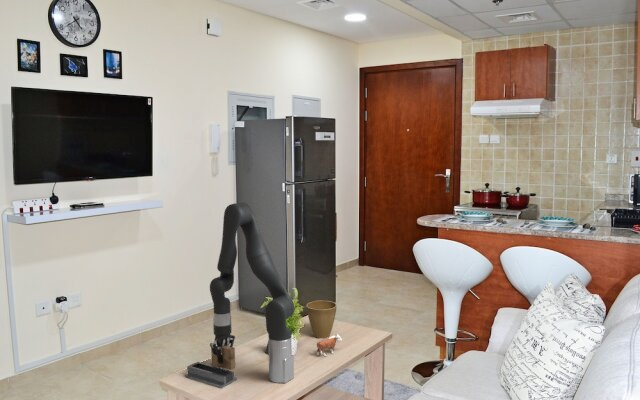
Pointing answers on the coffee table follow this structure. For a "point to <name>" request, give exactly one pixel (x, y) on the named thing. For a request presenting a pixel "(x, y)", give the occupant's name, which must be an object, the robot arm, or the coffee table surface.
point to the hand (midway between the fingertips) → (223, 361)
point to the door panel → (225, 358)
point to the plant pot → (321, 317)
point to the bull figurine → (328, 344)
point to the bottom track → (210, 374)
